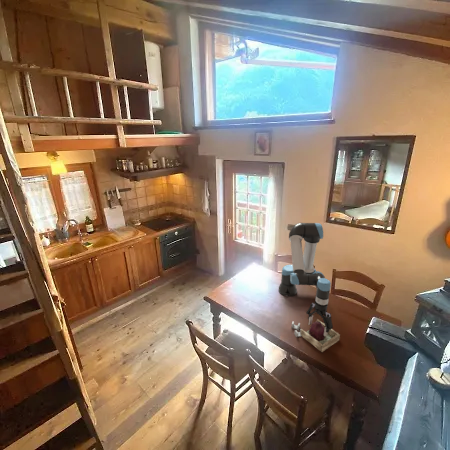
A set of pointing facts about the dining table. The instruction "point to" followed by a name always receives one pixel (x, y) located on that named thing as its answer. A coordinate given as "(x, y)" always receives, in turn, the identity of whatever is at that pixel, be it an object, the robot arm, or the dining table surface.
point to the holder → (325, 343)
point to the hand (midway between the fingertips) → (317, 329)
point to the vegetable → (317, 331)
